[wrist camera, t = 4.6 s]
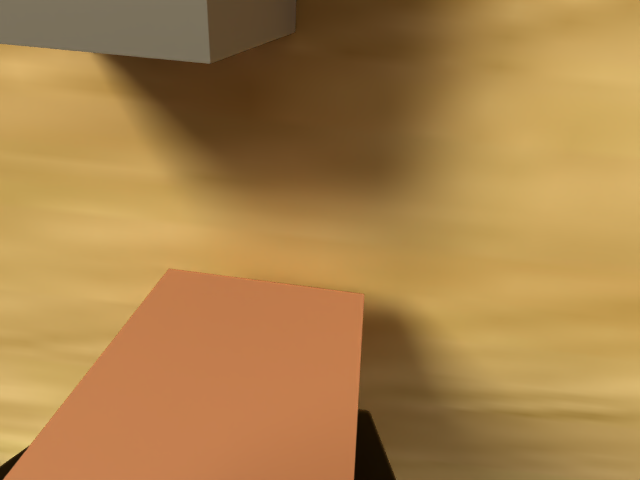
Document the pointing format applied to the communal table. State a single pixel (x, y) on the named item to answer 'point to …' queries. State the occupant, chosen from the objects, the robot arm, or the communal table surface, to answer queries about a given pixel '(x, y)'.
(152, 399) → the terracotta block
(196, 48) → the gray block
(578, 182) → the communal table surface
